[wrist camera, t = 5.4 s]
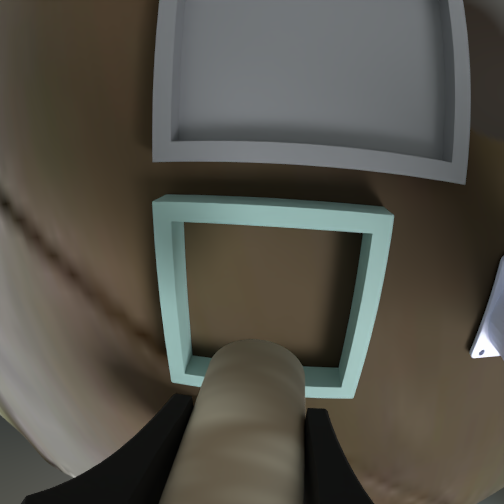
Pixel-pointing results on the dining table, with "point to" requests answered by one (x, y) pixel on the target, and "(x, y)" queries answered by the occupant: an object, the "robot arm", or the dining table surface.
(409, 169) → the tray
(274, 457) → the birch peg
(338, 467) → the robot arm
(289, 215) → the frame
